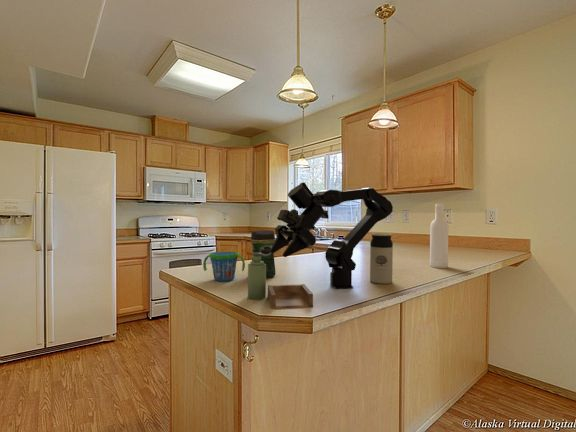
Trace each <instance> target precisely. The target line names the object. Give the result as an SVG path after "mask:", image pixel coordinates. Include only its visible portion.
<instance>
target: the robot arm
mask: <svg viewBox="0 0 576 432" xmlns="http://www.w3.org/2000/svg"><path fill="white" fill-rule="evenodd" d="M287 196H288V198H289V199H290V200H291V201H292V203H294V205H295V206H296V207H297V209H303V211H302V212H301V213H300V214H299V210H297V209H294V208H293V209H291V210H288V209H280V211H279V212H278V215H277V218H276V219H277V220H279V221H282V222H283V223H285V224H286V225H284V224H278V225H277V226H276V227H275V228H274V234H275V235H276V236H275V242H274V244H273V246H272V248H271V251H270V252H271V253H274V254H275V253H276V252H278V251H280V250H281V249H283V248H285V247H286V246H287V247H286V248H285V250H284V252H283V253H282V256H283V257H284V258H288V257H289V256H291V255H293V254H295V253H297V252H299V251H302V250H304V249H308V248H310V247H313V246H314V245H315V244H316V242H317V237H316V235H314V234H313V232H312V231H313V230H315V229H316V227H315V225H316V224H317V222H319V220H320V219H325V220H327V219H329V217H330V216H329V211H328V210H325V209H324V208H333V207H335V206H338V205H340V204H342V203H344V202H352V201H359V200H363V203H364V206H365V207H366V209H365V210H366V211H365V215H364V216H363V217H362V218H361V219H360V220H359V222H358V223H356V225H355V226H354V227H353V228H352V229H351V230H350V232H349V233H348V234H347V235H346V236H345V237H344V238H343V239H342V240H337V239H333V241H331V243H330V245H329V246H328V247H326V251H325V253H324V254H325V260H326V262H327V263H328V267H329V268H331V272H330V273H329V274H330V275H329V277H330V279H329V282H330V283H329V285H331V286H332V287H333V288H334V289H353V288H354V286H353V285H352V277H353V275H352V274H353V273H352V271H355V269H356V266H357V264H356V262H355V261H354V260H353V259H352V258H353V256H354V255H353V254H354V249H355V248H356V247H357V246H358V244H359V243H360V242H361V241H362V240H363V239H364V238H365V236H366V235H367V234H368V233H369V232H370V231H371V230H372V229H373V227H374V226H375V225H376V224H377V223H378V222H380V221H383V220H384V219H386V218H388V217H389V216H390V215H391V214H392V213H393V208H394V207H393V203H392V202H391V201H390V200H389V199H387V197H385V196H384V195H383V194H381V193H379V192H378V191H376V189H375V188H373V187H363V188H360V189H350V190H338V189H324V190H323V189H322V190H318V191H316V193H313V192H312V191H311V189H310V188H309V186H308V185H307V184H306V183H305V182H300V183H299V184H298V185H297V186H295V187H294V188H291V190H289V192H288V193H287ZM311 230H312V231H311Z"/></svg>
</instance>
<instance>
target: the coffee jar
mask: <svg viewBox="0 0 576 432" xmlns="http://www.w3.org/2000/svg"><path fill="white" fill-rule="evenodd" d="M250 234H251V235H250V243H251V246H252V255H251V257H252V258H251V261H253V253H262V255H261V261H264V264H266V279H268V278H273V277H275V276H276V264H275V253H271V252H270V251H271V248H272V246H273V244H274V242H275V240H276V236H275V235H276V233H275V230H274V231H273V230H269V229H262V230H261V229H260V230H259V229H257V230H253V231H251V233H250Z"/></svg>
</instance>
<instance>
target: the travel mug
mask: <svg viewBox="0 0 576 432" xmlns="http://www.w3.org/2000/svg"><path fill="white" fill-rule="evenodd" d="M392 235H393V234H392V233H386V232H385V233H384V232H373V233H371V241H370V244H369V245H370V253H369V258H370V259H369V263H370V264H369V281H370V282H371V283H373V284H380V285H387V284H388V285H389V284H392V283H393V264H394V263H393V257H394V256H393V255H394V254H393V251H394V250H393V247H394V245H393V241H392Z"/></svg>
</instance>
